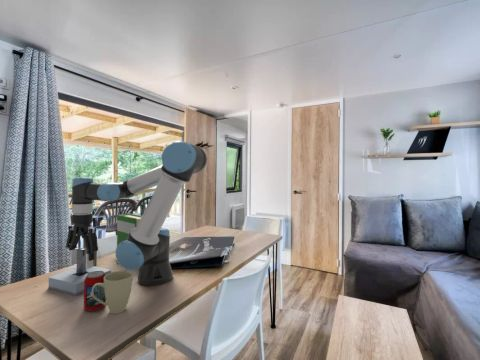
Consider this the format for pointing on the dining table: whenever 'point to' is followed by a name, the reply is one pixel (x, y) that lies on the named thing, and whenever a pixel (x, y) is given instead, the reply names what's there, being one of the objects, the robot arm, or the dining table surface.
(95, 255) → the wooden block
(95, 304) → the beverage can
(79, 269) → the pin
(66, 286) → the bore block
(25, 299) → the dining table surface
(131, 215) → the hardback book
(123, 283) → the mug
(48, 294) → the dining table surface
